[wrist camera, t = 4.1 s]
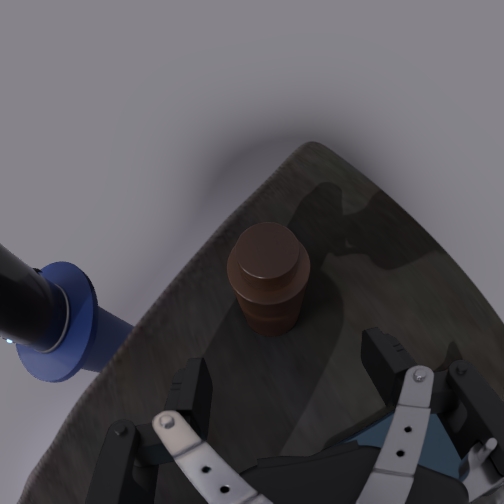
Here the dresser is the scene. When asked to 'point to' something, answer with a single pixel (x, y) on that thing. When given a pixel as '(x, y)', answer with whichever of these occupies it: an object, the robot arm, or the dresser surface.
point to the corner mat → (433, 450)
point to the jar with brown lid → (269, 277)
